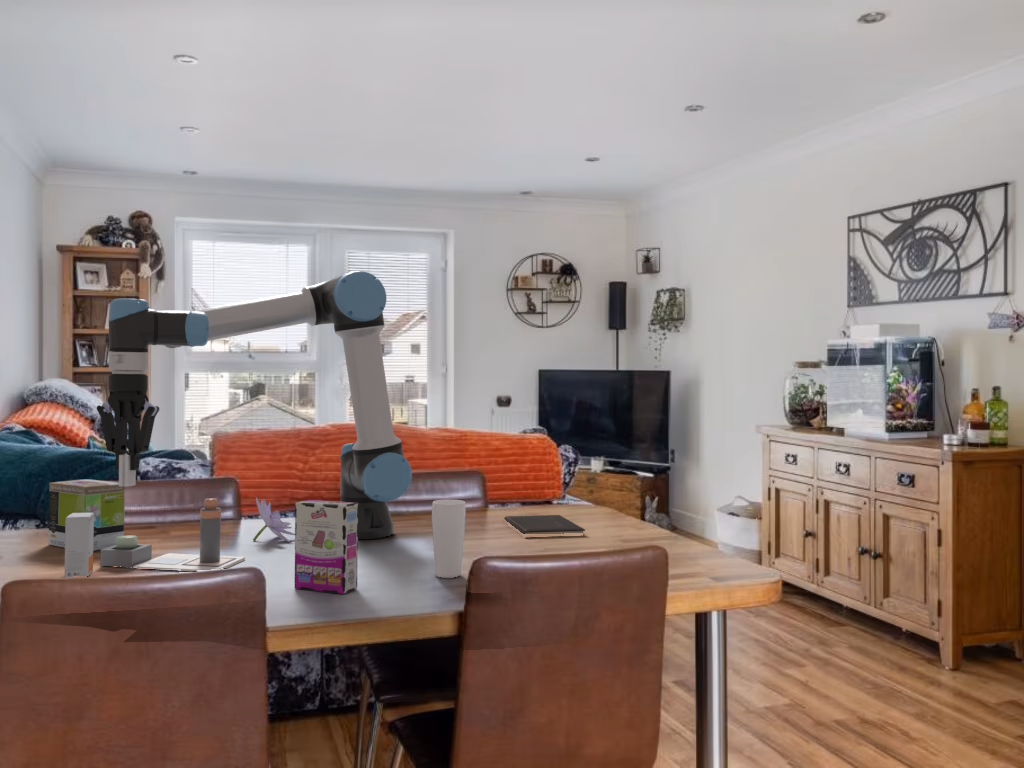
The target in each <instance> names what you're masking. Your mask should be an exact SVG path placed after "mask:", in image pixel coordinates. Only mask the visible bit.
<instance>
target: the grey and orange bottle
mask: <svg viewBox="0 0 1024 768" xmlns="http://www.w3.org/2000/svg"><path fill="white" fill-rule="evenodd" d="M199 512H200V513H199V515H200V522H199V523H200V524H199V525H200V527H199V528H200V532H199V541H200V542H199V555H200V562H201V563H215V562H219V561H220V556H221V524H222V523H221V521H222V520H221V517H222V508H220V507H218V498H213V497H212V498H205V499H204V507H201V508H200V510H199Z"/></svg>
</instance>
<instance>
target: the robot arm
mask: <svg viewBox="0 0 1024 768" xmlns="http://www.w3.org/2000/svg"><path fill="white" fill-rule="evenodd" d="M386 304H387V291H386V288H385V286H384V284H383V283H382V281H381V280H380V279H379V278H378V277H376V276H375V275H374V274H372V273H370V272H367V271H364V270H357V271H356V270H352V271H347V272H344V273H343V274H341V275H338V276H335V277H333V278H330V279H328V280H326V281H323V282H320V283H318V284H314V285H309V286H304V287H302V289H301V291H299V292H293V293H292V292H291V293H286V294H281V295H275V296H269V297H264V298H258V299H251V300H247V301H241V302H235V303H227V304H222V305H217V306H212V307H204V308H200V309H195V310H169V309H168V310H167V309H166V310H165V309H164V310H163V309H162V310H161V309H159V310H158V309H151V308H150V306H149V302H148V300H146V299H141V298H139V299H138V298H126V297H125V298H123V297H122V298H115V299H112V300H111V302H110V303H109V313H108V370H109V372H111V373H109V375H108V391H109V396H108V398H107V401H106V402H105V403H102V404H100V405H99V404H98V405H97V406H96V410H97V413H98V415H99V416H100V420H101V426H102V430H103V435H104V436H103V437H104V442H105V446H106V448H105V449H106V451H107V452H111V453H114V454H115V470H117V471H118V482H119V486H124V488H126V487H127V488H128V487H134V486H136V484H137V481H136V480H137V478H136V477H137V471H138V470H139V469H140V455H141V454H142V453H144V452H147V451H149V448H150V443H151V439H152V434H153V428H154V424H155V419H156V416H157V414H158V413H159V412H160V407H159V406H158V405H153V404H152V403H150V402H149V401H150V400H149V397H148V396H147V392H148V390H149V388H148V387H149V376H148V374H146V372H148V371H149V346H150V345H151V346H164V347H166V348H169V349H176V348H181V347H191V348H193V347H205V346H206V345H207V343H208V342H210V341H215V340H220V339H227V338H231V337H232V338H233V337H237V336H243V335H248V334H252V333H257V332H259V333H260V332H264V331H269V330H275V329H281V328H285V327H290V326H297V325H302V324H309V325H310V326H311V327H313V326H318V325H319V326H320V325H327V324H328V325H331V324H333V329H334V333H335V334H336V335H337V336H338V337H339V338H341V340H342V344H343V345H342V346H343V350H344V351H343V352H344V356H345V357H344V359H345V364H346V371H347V379H348V385H349V391H350V396H351V397H350V399H351V404H352V412H353V417H354V424H355V431H356V438H357V439H356V442H352V443H345V444H343V445H342V447H341V449H340V450H341V451H340V454H339V455H340V456H339V460H340V481H339V483H340V487H339V488H340V490H339V491H340V496H339V497H340V498H339V499H340V501H339V502H350V503H358V540H372V539H373V540H374V539H376V540H377V539H382V537H383V538H387V537H386V536H388V537H391V536H392V535H391V534H393V533H394V532H395V531H394V529H395V528H394V522H393V519H392V515H391V512H390V510H389V506H388V502H393V501H395V500H398V499H399V498H400V497H402V496H404V494H405V493H406V492H407V491H408V489H409V487H410V485H411V482H412V480H413V479H412V478H413V470H412V467H411V465H410V462H409V461H408V460H407V458H406V457H405V456H404V450H403V444H402V439H401V438H400V437H398V436H397V435H395V434H394V432H395V431H394V427H393V420H392V413H391V406H390V399H389V392H388V386H387V380H386V378H387V377H386V372H385V370H386V369H385V365H384V359H383V351H382V350H383V349H382V344H381V337H380V335H381V332H382V331H383V329H384V328H385V327H386V326H385V320H384V313H383V311H384V310H385V308H386ZM113 413H114V415H113ZM143 413H144V414H143ZM142 414H143V417H142ZM127 449H128V450H127ZM390 535H391V536H390ZM393 535H394V534H393Z"/></svg>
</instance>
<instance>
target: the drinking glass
mask: <svg viewBox="0 0 1024 768" xmlns="http://www.w3.org/2000/svg"><path fill="white" fill-rule="evenodd" d="M431 506H432V507H431V528H432V529H431V530H432V540H433V541H432V542H433V544H432V545H433V559H434V575H435V576H436V577H437V578H440V577H441V578H440V579H455V578H454V577H456V578H459V577H460V576H461V575H462V563H463V553H464V552H463V551H464V539H465V529H466V521H467V520H466V517H467V515H466V513H467V511H466V501H464V500H460V499H437V500H434V501H432V504H431ZM458 576H459V577H458Z"/></svg>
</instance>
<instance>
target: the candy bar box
mask: <svg viewBox="0 0 1024 768" xmlns="http://www.w3.org/2000/svg"><path fill="white" fill-rule="evenodd" d="M294 509H295V510H294V511H295V512H294V515H295V516H294V522H295V523H294V525H295V526H294V534H295V535H294V589H296V590H301V591H302V590H303V591H312V592H321V593H331V594H341V595H344V594H347V593H350V592H353V591H355V590H357V589H358V559H359V558H358V554H359V553H358V549H359V545H358V542H359V541H358V540H359V539H358V503H350V502H340V501H331V500H317V499H308V500H301V501H297V502H295V505H294Z"/></svg>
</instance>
